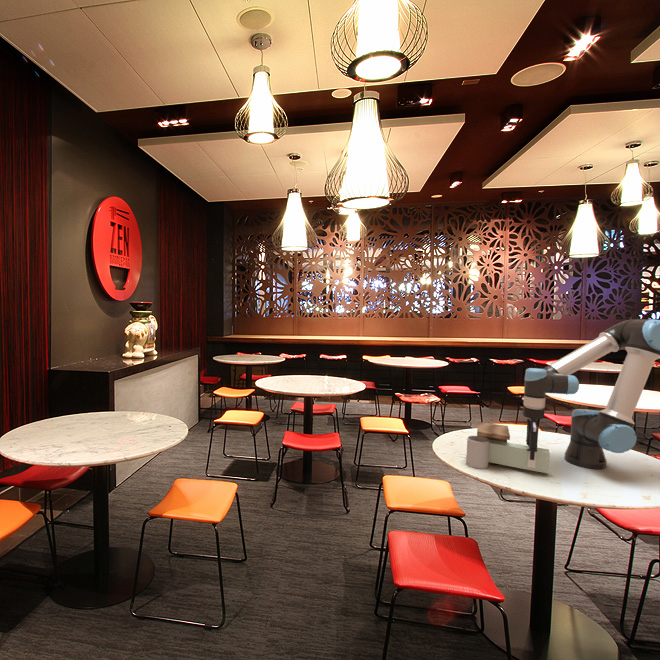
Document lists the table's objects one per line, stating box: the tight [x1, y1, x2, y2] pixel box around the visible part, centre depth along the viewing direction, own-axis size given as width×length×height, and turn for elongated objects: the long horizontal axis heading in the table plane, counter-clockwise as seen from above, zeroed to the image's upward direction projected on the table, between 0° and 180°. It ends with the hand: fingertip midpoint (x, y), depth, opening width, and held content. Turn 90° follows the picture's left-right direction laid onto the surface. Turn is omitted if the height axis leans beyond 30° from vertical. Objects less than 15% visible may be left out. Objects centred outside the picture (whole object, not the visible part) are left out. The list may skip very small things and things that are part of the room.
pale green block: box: [488, 440, 551, 475], centre depth 155 cm, size 22×5×8 cm, turn 64°
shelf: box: [476, 421, 511, 443], centre depth 159 cm, size 12×16×15 cm
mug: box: [465, 435, 489, 470], centre depth 159 cm, size 12×8×11 cm
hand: (530, 464), depth 153 cm, fingers closed on pale green block, 5 cm apart
